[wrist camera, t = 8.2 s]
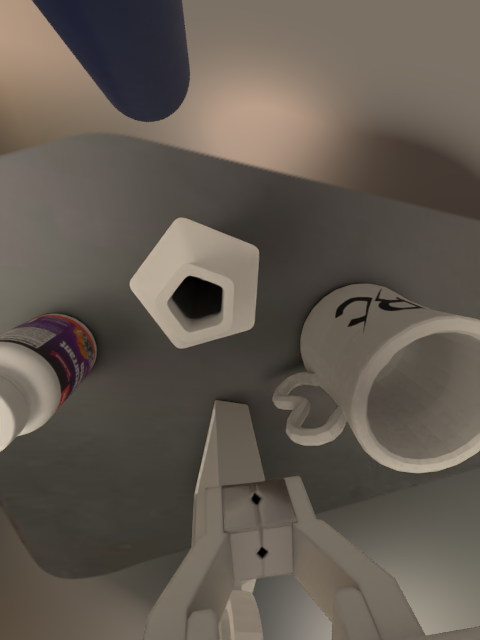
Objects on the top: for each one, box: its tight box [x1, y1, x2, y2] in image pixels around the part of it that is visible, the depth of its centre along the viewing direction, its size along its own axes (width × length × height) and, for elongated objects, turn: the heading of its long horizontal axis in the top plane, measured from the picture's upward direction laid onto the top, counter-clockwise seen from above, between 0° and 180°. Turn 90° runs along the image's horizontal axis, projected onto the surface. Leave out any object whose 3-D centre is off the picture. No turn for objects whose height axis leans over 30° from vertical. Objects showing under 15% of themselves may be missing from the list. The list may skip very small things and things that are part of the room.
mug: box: [272, 284, 480, 473], centre depth 21 cm, size 12×9×10 cm
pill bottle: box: [0, 314, 97, 452], centre depth 19 cm, size 5×5×10 cm
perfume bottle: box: [130, 217, 259, 349], centre depth 16 cm, size 5×4×15 cm
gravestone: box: [192, 400, 265, 640], centre depth 19 cm, size 3×9×18 cm, turn 167°
